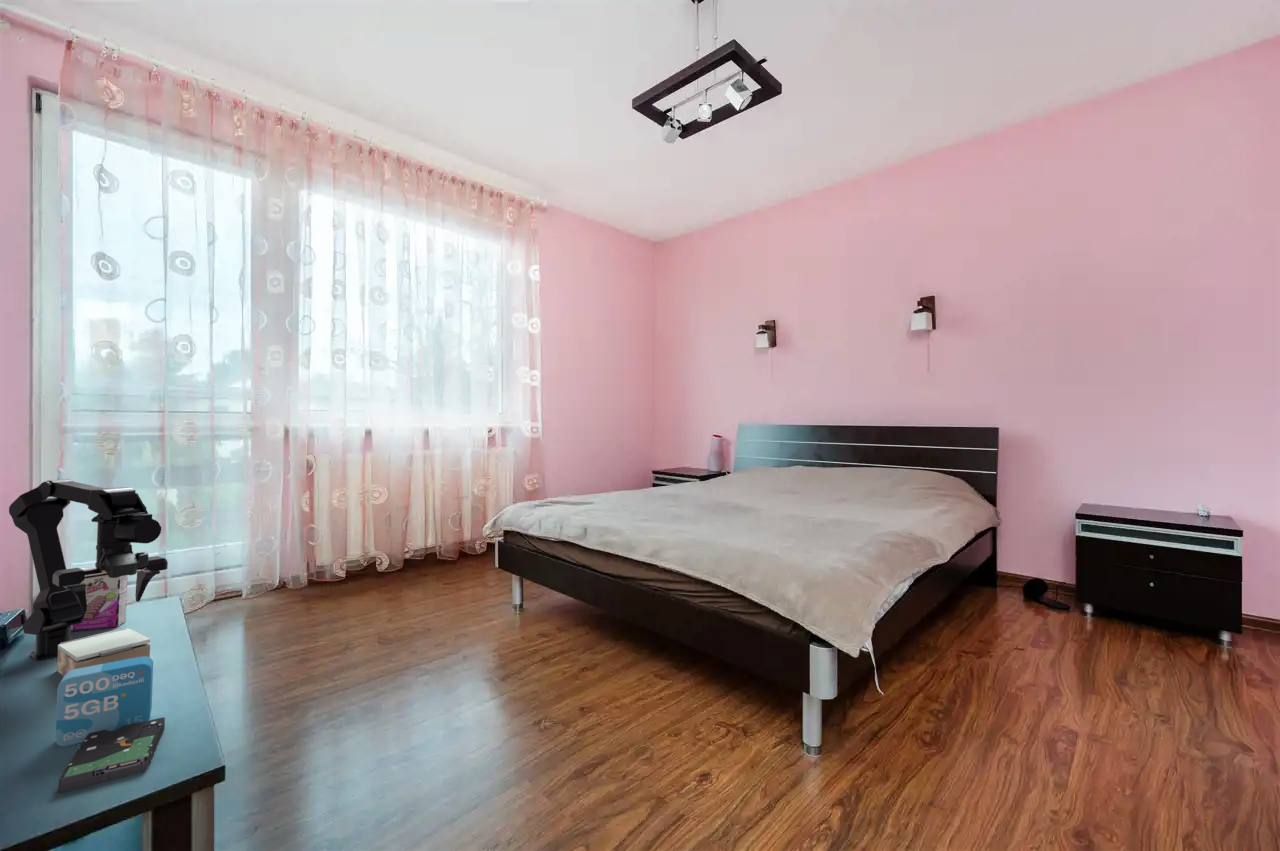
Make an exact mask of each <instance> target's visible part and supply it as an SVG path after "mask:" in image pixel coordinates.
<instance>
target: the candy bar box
mask: <svg viewBox="0 0 1280 851" xmlns="http://www.w3.org/2000/svg"><path fill="white" fill-rule="evenodd" d="M79 568H80V569H82V570H91V569H96V567H95V566H94V567H91V566H90V567H89V566H88V567H79ZM102 572H105V571H102ZM128 576H129V575H125V576H120V577H118V578H110V577H108V575H104V576H98V577H92V578H85V580H84V581H83V583H84V584H86V589H85V592H86V601H87V610H86V612H85V615H84V618H83V621H82V623H79V624H74V625H71V633H72V632H79V631H80V632H82V631H88V630H99V629H100V630H102V629H109V628H118V627H120V626H121V625H122V623H123V624H124V623H125V622H126V621H127V601H128V597H127V596H128Z"/></svg>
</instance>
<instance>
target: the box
mask: <svg viewBox="0 0 1280 851" xmlns="http://www.w3.org/2000/svg"><path fill="white" fill-rule="evenodd" d="M142 656H146V657H150V656H151V644H150V643H146V644H142V645H138V646H134V647H132V649H128V650H124V651H121V652H117V653H113V654H109V655H105V656H100V655H99V656H95V657H91V658H87V659H83V660H79V661H76V660H74V659H73V658H71V657H70V656H68V655H67V654H66V653H64V652H63V651H61V650H60V649H58V656H57V664H56V671H57V672H58V673H59V674H61V675H62V677H64V676H65V674H66V673H68V672H69V671H71V670H74V669H78V668H83V667H89V666H94V665H99V664H105V663H110V662H115V661H121V660H126V659H131V658H137V657H142ZM150 658H151V657H150Z"/></svg>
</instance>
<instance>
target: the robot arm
mask: <svg viewBox="0 0 1280 851" xmlns="http://www.w3.org/2000/svg"><path fill="white" fill-rule="evenodd" d="M136 491H137V490H136V489H135V488H134V487H129V486H128V487H102V486H101V487H100V486H96V485H92V484H86V483H81V482H77V481H74V480H72V479H68V478H67V479H52V480H50V479H49V480H46V481H42V483H40V484H39V485H38V486H37V487H35V488H33V489H31V490H29V491H26V492H24V493H22V494H20V495H19V496H18V497H17V498H16V499H15V500H14V501H12V503H11V504H10V505H9V507H8V514H9V516H10V517H11V518H12V521H13V523H14V526H15V527H16V528H18V529H19V530H20V531H22V532H23V533H25V534H26V536H27V540H28V544H29V548H30V552H31V556H32V560H33V565H34V569H35V574H36V578H37V582H38V587H39V592H38V595H37V597H36V598H35V600H34V601H33V603H32V604H33V605H32V610H33V612H32V613H31V615H30V616H29V617H28V618H27V619H26V620H25V621H24V622H23V623H22V629H23V633H24V634H25V635H27V634H28V635H35V648H34V649H35V651H31V652H29V655H30V656H31V657H32V659H34V660H35V661H41V660H45V659H49V658H54V657H58V645H59V644H60V643H61V642H66V641H70V640H71V634H72V632H71V625H74V624H79V623H82V621H83V618H84V615H85V612H86V610H87V601H86V592H85V589H86V584H84V583H83V581H84V580H85V578H92V577H98V576H104V575H108V577H110V578H118V577H120V576H125V575H128V576H134V575H136V581H135V582H136V583H135V594H134V595H135V601H136V602H138V603H139V602H140V601H141V599H142V596H143V594H144V593H145V590H146V588H147V586H148V584H149V583H150V581H151V580H152V579H153V578H154V577H155V576H156V575H160V574H161V571H164V570H167V569H168V564H169V563H168V560H167V559H166V557H162V556H159V555H155V556H150V557H149V553H148V551H139V552H136V553H134V551H133V545H132V543H134V544H150V543H152V542H154V541H156V540H157V539H158V538H159V536H160V535H161V532H162V526H161V524H160V523H159V522H158V520H156V519H153V514H152V513H149V512H148V510H147V506H146V505H145V503H144V502H143V500H142V499H141V497H140V495H139V494H138V492H136ZM71 502H74V503H78V504H79V503H80V504H83V505H86V506H87V508H88V510H90V511H91V512H94V513H96V514H97V515H96V516H94V517H92V519H91V522H93V523H97V534H96V535H97V536H96V545H95V551H96V560H95V561H96V562H95V563H94V564H95V565H94V567H96V569H91V570H82V569H80V568H81V567H73V568H67V565H66V562H65V557H64V554H63V549H62V545H61V541H60V536H59V530H58V527H59V525H60V523H61V522H62V519H63V518H64V509H65V508H67V507H68V506H69V505H70V504H71ZM102 571H105V572H102Z"/></svg>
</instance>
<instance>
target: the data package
mask: <svg viewBox="0 0 1280 851" xmlns="http://www.w3.org/2000/svg"><path fill="white" fill-rule="evenodd" d="M153 675H154V660H153V659H152V657H146V656H142V657H137V658H131V659H126V660H121V661H115V662H110V663H105V664H99V665H94V666H89V667H83V668H78V669H74V670H71V671H69V672H68V673H66V674H65V676H62V679H61V680H60V682H59V684H58V686H57V688H56V689H57V690H56V714H55V716H56V717H55V743H56V745H58V746H59V747H71V746H75V745H79V744H82V743H83V742H84V739H85V738H86V737H87V735H88V734H89V733H92V732H97V731H101V730H107V731H115V730H117V729H119V728H120V727H122V726H125V725H129V724H134V723H140V722H144V721H150V720H151V719H150V718H151V714H152V708H153V684H154V683H153V680H154V679H153V677H154V676H153Z"/></svg>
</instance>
